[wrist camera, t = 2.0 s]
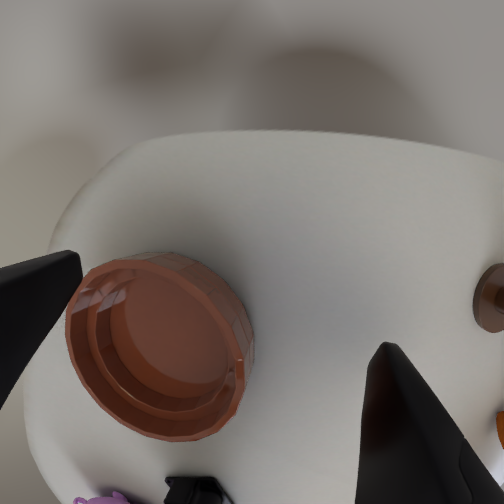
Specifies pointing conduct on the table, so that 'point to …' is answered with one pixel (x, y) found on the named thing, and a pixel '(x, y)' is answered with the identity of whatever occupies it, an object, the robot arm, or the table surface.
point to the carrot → (500, 427)
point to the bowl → (161, 345)
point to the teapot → (104, 500)
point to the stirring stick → (490, 300)
